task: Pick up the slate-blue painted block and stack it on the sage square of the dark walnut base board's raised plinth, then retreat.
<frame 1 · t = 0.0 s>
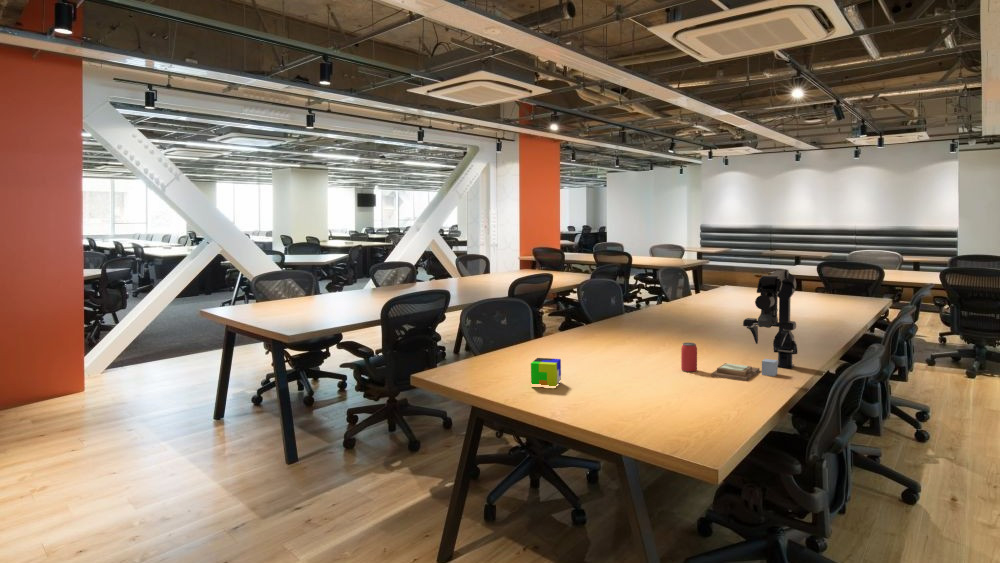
hand: (768, 344, 230), 15 cm above the table, fingers open, 9 cm apart
block: (769, 374, 241), on the table
beer can: (689, 371, 250), on the table
base: (735, 373, 244), on the table
puzzle toy: (546, 385, 233), on the table
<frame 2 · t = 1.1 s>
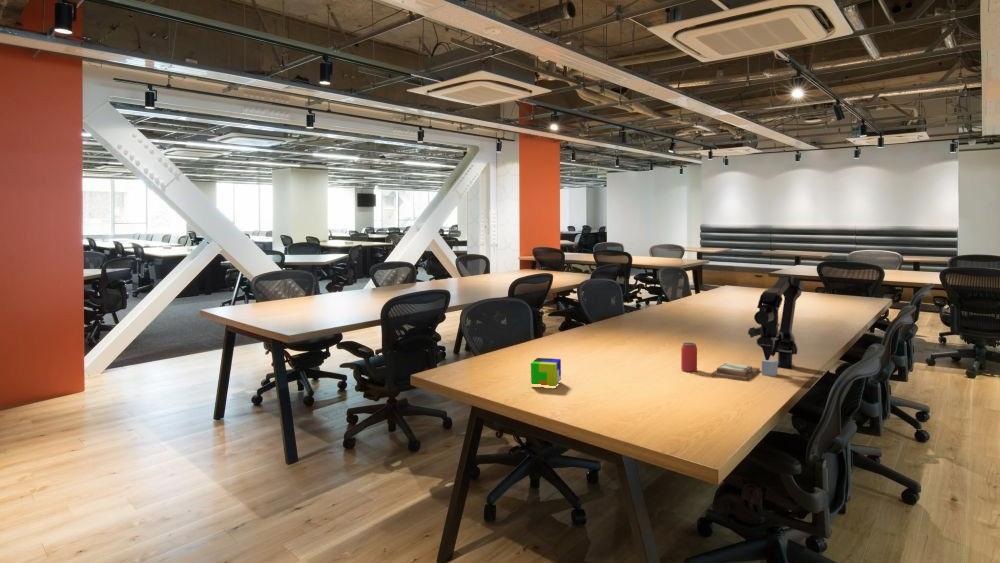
hand: (769, 358, 240), 7 cm above the table, fingers open, 9 cm apart
nothing on the table moved.
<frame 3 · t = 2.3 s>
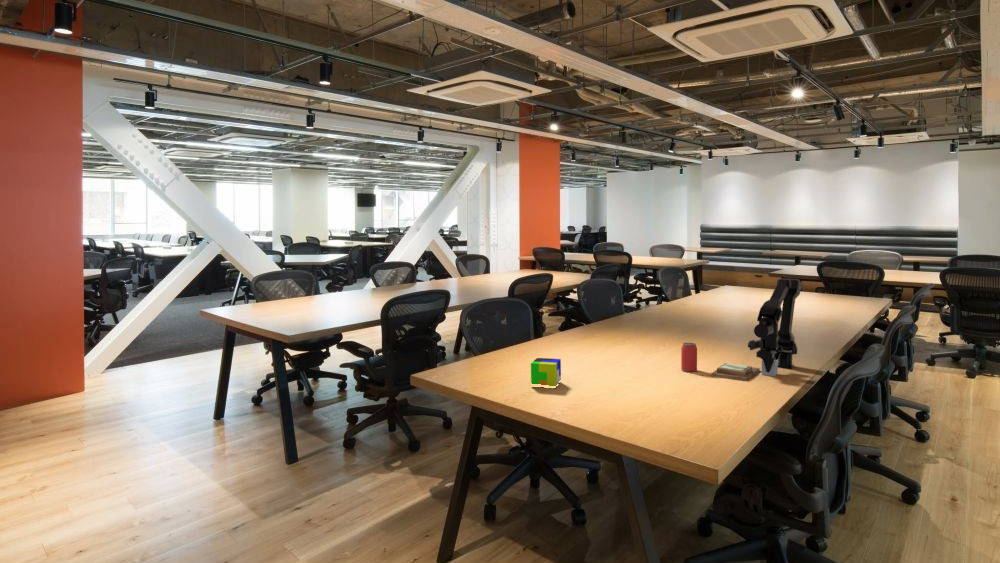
hand: (769, 370, 241), 2 cm above the table, fingers closed on block, 5 cm apart
block: (769, 374, 241), on the table, touching gripper
everything else where it was.
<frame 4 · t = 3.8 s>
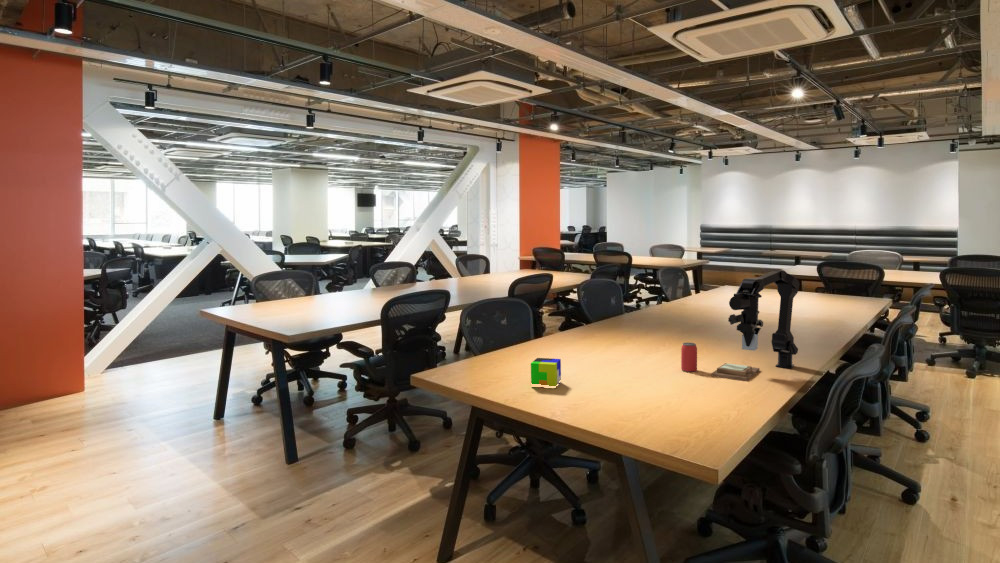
hand: (749, 345, 240), 13 cm above the table, fingers closed on block, 5 cm apart
block: (749, 348, 240), point 11 cm above the table, touching gripper
everything else where it was.
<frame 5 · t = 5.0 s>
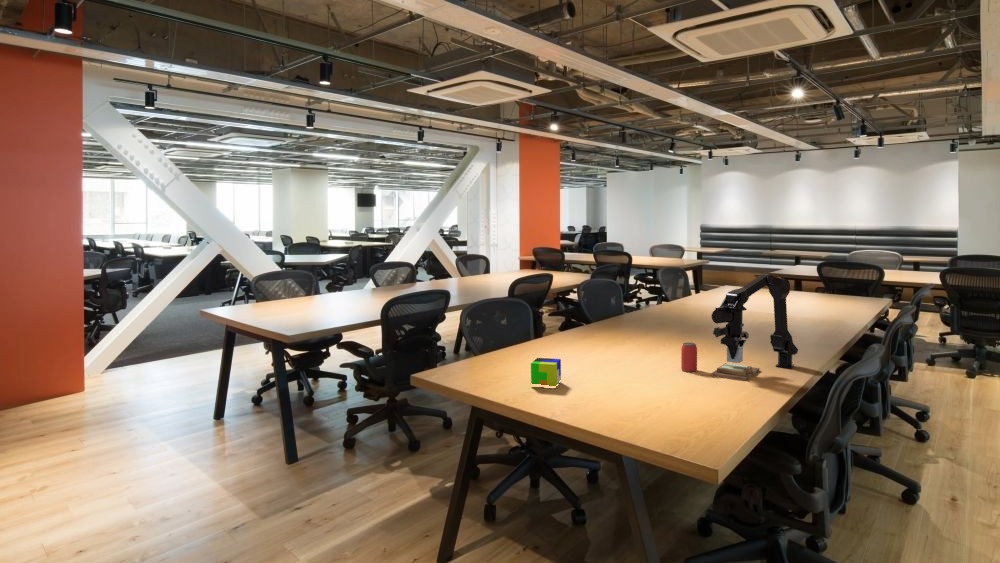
hand: (734, 357, 241), 7 cm above the table, fingers closed on block, 5 cm apart
block: (734, 361, 242), point 6 cm above the table, touching gripper
everything else where it was.
when the fingers open (6 cm above the table, at t = 5.6 s): block drops 1 cm, resting on base.
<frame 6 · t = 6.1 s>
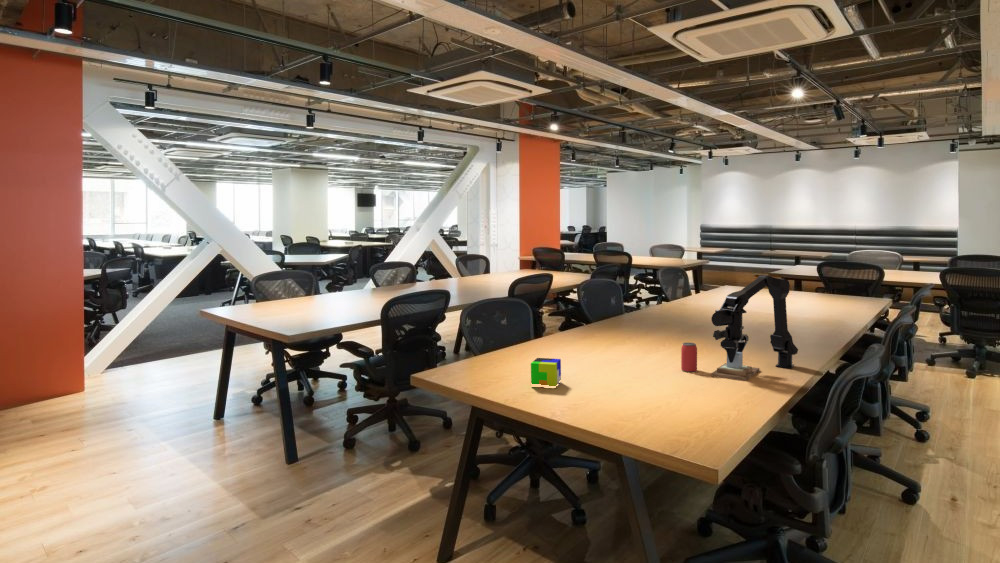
hand: (734, 360, 242), 6 cm above the table, fingers open, 9 cm apart
block: (734, 366, 242), point 3 cm above the table, touching base
everything else where it was.
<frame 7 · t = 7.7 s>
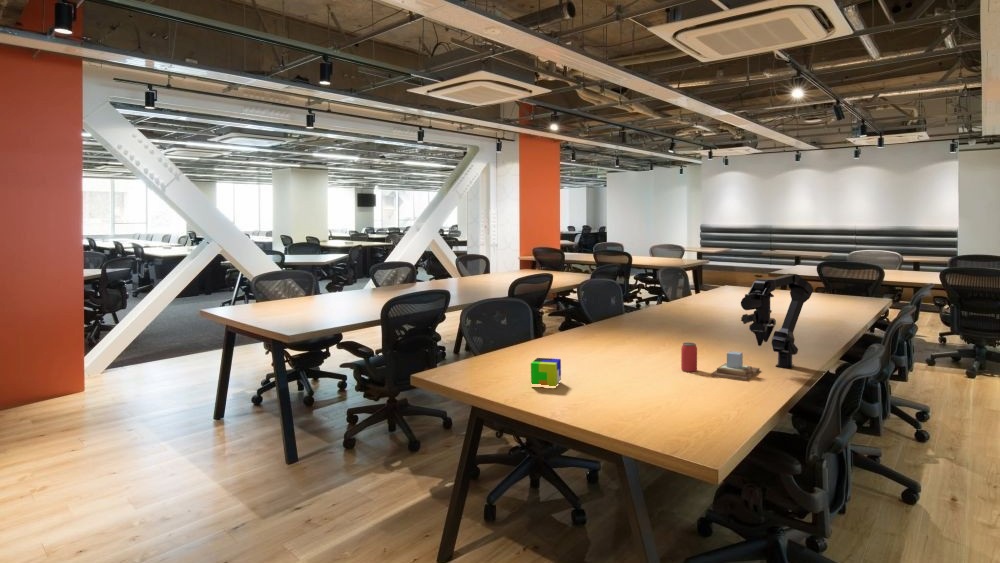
hand: (762, 343, 246), 12 cm above the table, fingers open, 9 cm apart
nothing on the table moved.
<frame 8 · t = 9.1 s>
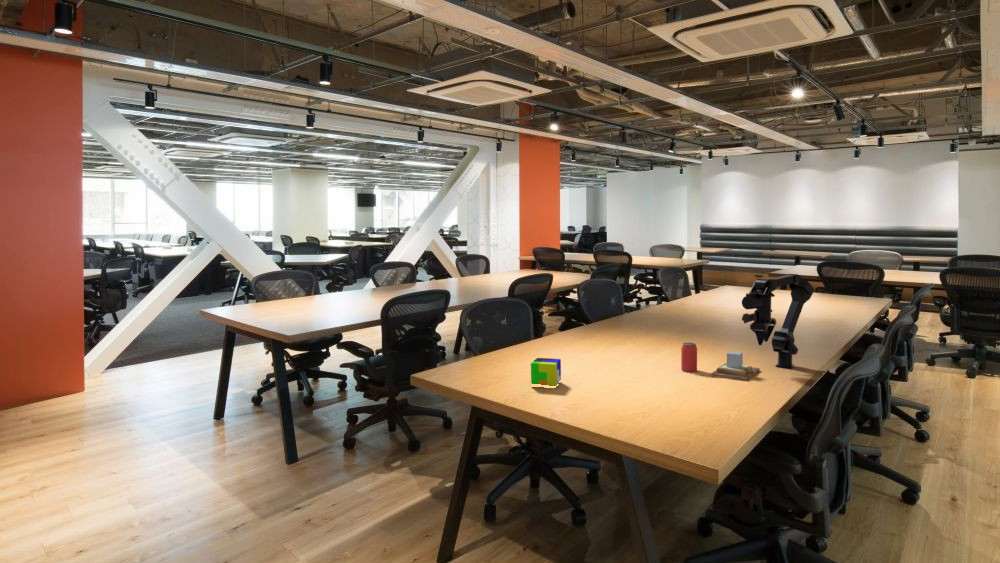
hand: (763, 343, 246), 12 cm above the table, fingers open, 9 cm apart
nothing on the table moved.
at the end: block inside the target area on the base (0.1 cm from its centre), point 3.3 cm above the base's base; block tilted 0°; the gripper is holding nothing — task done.
